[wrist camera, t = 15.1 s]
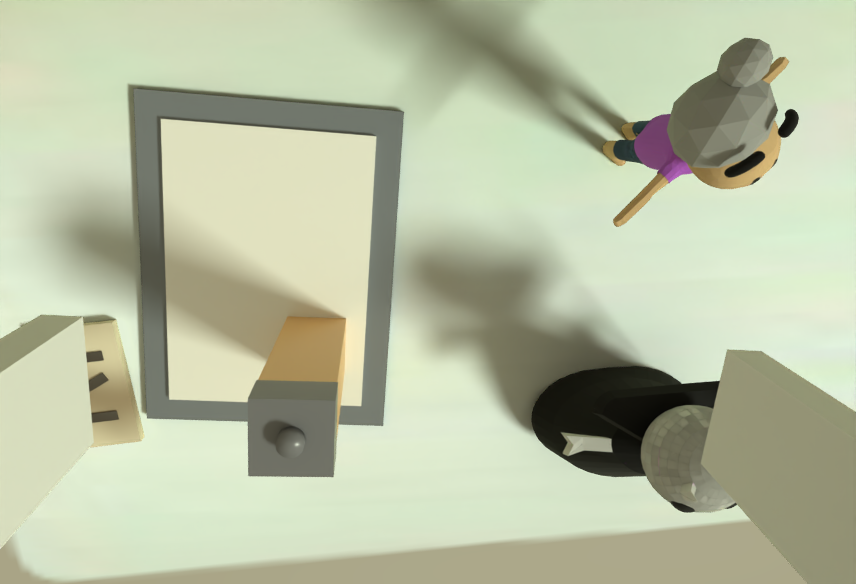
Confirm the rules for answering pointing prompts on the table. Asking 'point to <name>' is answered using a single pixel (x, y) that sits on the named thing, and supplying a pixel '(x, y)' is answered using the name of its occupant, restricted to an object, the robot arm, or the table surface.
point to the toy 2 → (635, 430)
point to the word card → (110, 387)
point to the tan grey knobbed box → (298, 401)
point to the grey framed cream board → (261, 243)
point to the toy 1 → (712, 128)
